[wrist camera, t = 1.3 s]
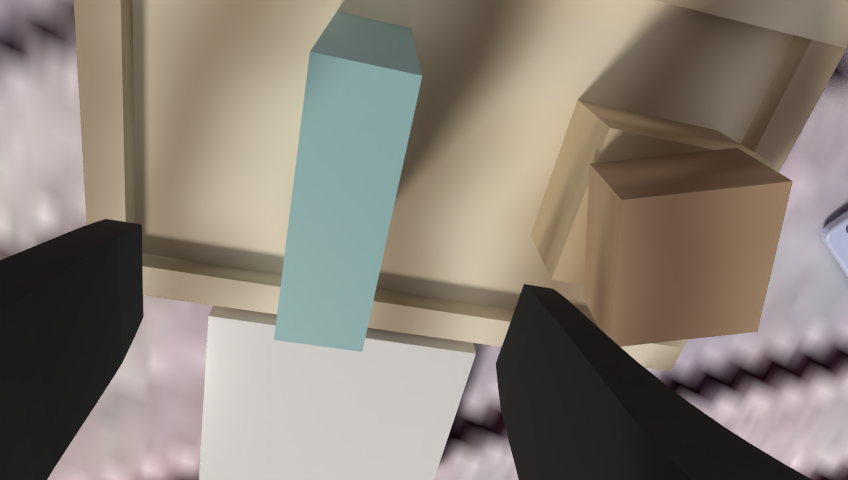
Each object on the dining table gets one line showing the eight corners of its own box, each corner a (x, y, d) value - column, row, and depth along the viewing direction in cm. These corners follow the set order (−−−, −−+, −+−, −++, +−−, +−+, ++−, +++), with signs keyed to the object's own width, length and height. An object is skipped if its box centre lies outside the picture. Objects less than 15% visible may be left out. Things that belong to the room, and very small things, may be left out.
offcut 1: (716, 130, 19) (770, 161, 16) (656, 257, 21) (695, 303, 19) (577, 99, 18) (609, 127, 16) (530, 235, 20) (551, 279, 18)
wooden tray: (823, -1, 18) (869, 6, 17) (650, 340, 25) (670, 371, 23) (99, -193, 15) (61, -210, 13) (114, 258, 21) (90, 287, 20)
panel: (410, 28, 17) (421, 75, 11) (369, 233, 20) (362, 352, 14) (336, 11, 17) (309, 51, 11) (306, 222, 20) (273, 340, 14)
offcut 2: (737, 147, 16) (792, 181, 14) (712, 283, 18) (757, 331, 16) (589, 163, 16) (621, 199, 14) (583, 298, 18) (609, 347, 16)
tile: (469, 322, 24) (476, 354, 22) (418, 483, 28) (420, 520, 26) (222, 285, 22) (208, 316, 20) (210, 462, 27) (198, 499, 25)
